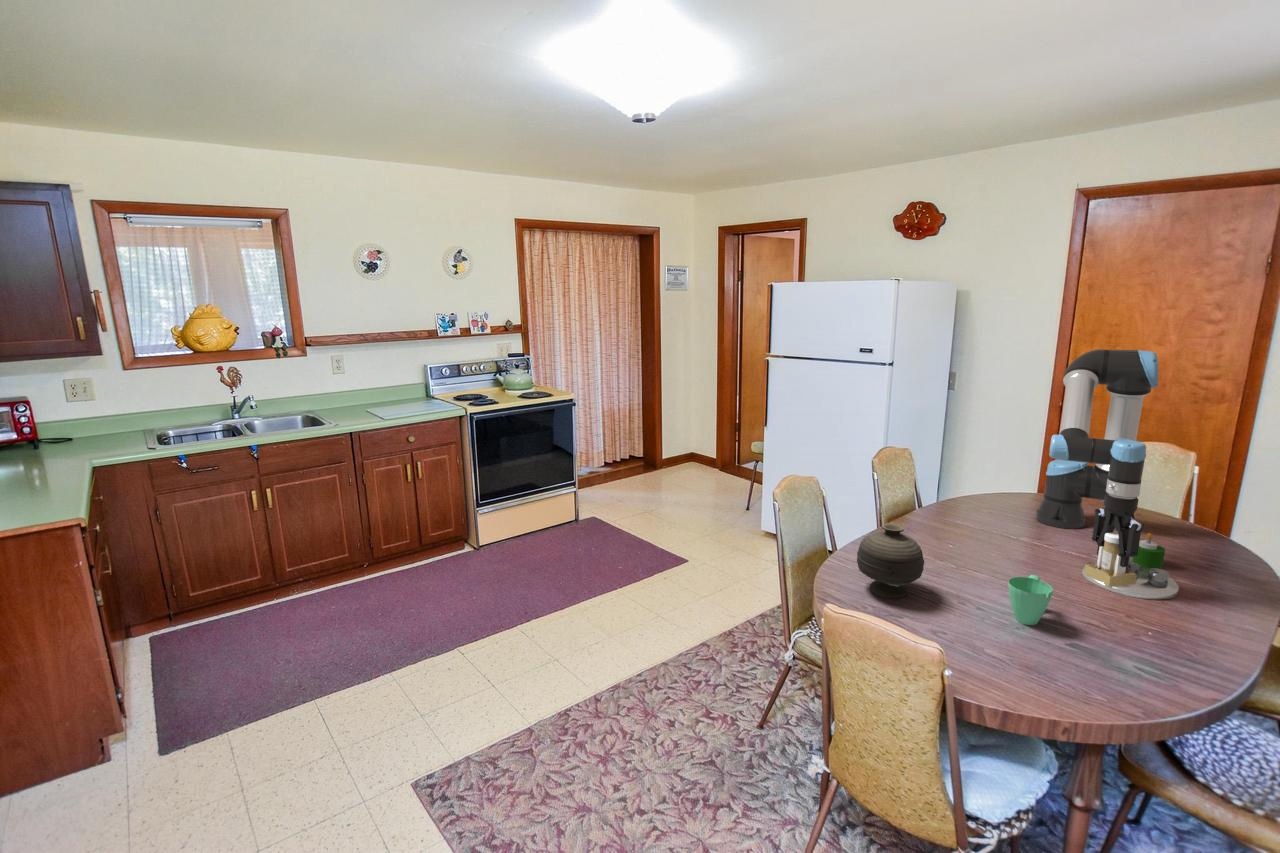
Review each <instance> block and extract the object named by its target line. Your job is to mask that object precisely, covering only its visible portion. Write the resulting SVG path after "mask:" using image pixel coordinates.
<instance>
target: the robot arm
mask: <svg viewBox="0 0 1280 853" xmlns="http://www.w3.org/2000/svg"><path fill="white" fill-rule="evenodd" d="M1158 358H1159V357H1158V355H1157V353H1156V352H1154V351H1150V350H1141V349H1103V348H1099V349H1092V350H1089V351H1086V352H1085V353H1082V354H1081V355H1079V356H1078V357H1076V358H1075V359H1074V360H1072V362H1071V363H1069V365H1068V366H1067V368H1066V369H1065V371H1064V375H1063V380H1062V381H1063V382H1062V384H1063V386H1064V387H1065V391H1064V399H1063V405H1062V413H1061V420H1060V427H1059V428H1060V429H1059V433H1058V434H1053V435H1051V438H1050V445H1049V454H1048V455H1049V457H1050V458H1051V459H1053V460H1051V461H1050V462H1049V463H1048V464H1047V470H1046V472H1045V476H1046V478H1045V483H1044V490H1043V498H1042V501H1041V502H1040V504H1039V507H1038V509H1036V512H1035V516H1034V517H1035V520H1037V522H1039V523H1041V524H1044V525H1047V526H1050V527H1054V528H1055V527H1056V528H1059V529H1070V530H1071V529H1074V530H1075V529H1082V528H1084V527H1085V525H1086V517H1085V513H1084V509H1083V504H1082V503H1083V498H1085V499H1091V500H1092V499H1093V500H1099V501H1103V506H1104V508H1103V507H1102V508H1095V509H1094V514H1095V518H1094V523H1093V530H1092V537H1091V540H1092V541H1093V542H1096V544H1097V550H1096V556H1097V560H1096V561H1097V568H1101V563H1102V555H1103V549H1104V543H1105V541H1104V537H1105V534H1106V533H1114V531H1115V530H1116V533H1118V536H1119V548H1120V554H1118V555H1117V558H1116V564H1115V571H1114V574H1125V570H1126V567H1127V566H1128V563H1129V557H1132V556H1137V555H1138V549H1139V542H1140V541H1141V534H1142V531H1143V529H1144V527H1145V526H1144V523H1142V522H1141V523H1140V522H1139V521H1136V520H1135V518H1136V517H1135V513H1136V512H1137V510H1138V507H1139V506H1138V504H1139V498H1138V497H1140V494H1141V486H1142V476H1143V472H1144V467H1145V466H1144V465H1145V460H1146V458H1147V445H1146V444H1145V443H1144V442H1141V441H1139V440H1137V438H1138V433H1139V428H1140V427H1139V426H1140V420H1141V414H1142V410H1143V409H1142V408H1143V404H1144V403H1143V402H1144V399H1145V398H1144V397H1147V396H1148V395H1150V394H1151V390H1152V389H1155V388H1158V386H1159V359H1158ZM1098 385H1101V386H1102V385H1103V386H1106V389H1105V390H1106V391H1107V392H1108V393H1109V394H1110V400H1109V406H1108V411H1107V412H1108V414H1107V418H1106V426H1105V433H1104V438H1096V437H1095V438H1094V437H1090V429H1091V422H1092V411H1093V410H1092V409H1093V401H1094V391H1095V389H1096V388H1097V386H1098ZM1088 464H1094V465H1088ZM1115 528H1116V529H1115Z"/></svg>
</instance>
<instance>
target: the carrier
mask: <svg viewBox="0 0 1280 853" xmlns="http://www.w3.org/2000/svg"><path fill="white" fill-rule="evenodd" d="M1097 561H1098V560H1094V561H1090V562H1086V563H1085V564H1084V565H1083V567H1082V570H1081V571H1082V576H1083V577H1084V579H1086V581H1088V582H1090V583H1091V584H1092V585H1095V587H1096V586H1097V587H1099V588H1101V589H1103V590H1106V591H1109V592H1112V593H1114V594H1118V595H1121V596H1126V597H1129V598H1130V597H1131V598H1136V599H1143V600H1151V601H1152V600H1153V601H1156V600H1157V601H1158V600H1159V601H1160V600H1161V601H1162V600H1164V599H1165V600H1169V599H1173V598H1175V597H1176V596H1178V594H1179V584H1178V583H1177V582H1176V581H1175V580H1174V579H1172V578H1171V577H1170V572H1169V571H1167V570H1166V569H1165V570H1164V569H1163V568H1160V569H1157V568H1151V569H1149V568H1145V567H1141V566H1140V565H1139V564H1137V563H1134V562H1132V561H1133V556H1132V557H1129V563H1128V566H1127V567H1126V570H1125V574H1114V575H1110V574H1108V573H1106V572H1104V571H1102V570H1101V568H1097Z"/></svg>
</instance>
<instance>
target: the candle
mask: <svg viewBox="0 0 1280 853" xmlns="http://www.w3.org/2000/svg"><path fill="white" fill-rule="evenodd" d="M1152 540H1153V534H1152V533H1151V532H1149V533H1147V534H1146V539H1144V540H1143V539H1142V540H1141V539H1140V542H1139V549H1138V555H1137V556H1133V561H1132V562H1134V563H1137V564H1139V565H1140V566H1141V567H1145V568H1148V569H1151V568H1157V569H1163V566H1164V560H1165V555H1166V554H1165V553H1166V549H1165V548H1164V547H1163V546H1161V545H1158V543H1157V542H1155V541H1152Z"/></svg>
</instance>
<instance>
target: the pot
mask: <svg viewBox="0 0 1280 853" xmlns="http://www.w3.org/2000/svg"><path fill="white" fill-rule="evenodd" d="M881 529H883V530H878V531H874V532H870V534H867V535H866V536H865V537H864V538H863V539H862V540H860V544H859V546H858V550H857V553H856V556H857V557H856V563H857V568H858V570H859V571H860V572H861V573H862V574H863V575H865V576H866V577H868V578H869V579H871V580H873V581H872V582H871V583H870V585H869V590H870V591H871V593H872V594H873V595H876V596H878V597H882V598H884V599H885V598H886V599H891V600H892V599H896V600H897V599H902V598H904V597H907V595H908V589H907V588H906V586H904V585H907V584H911V583H913V582H916V580H919V579H920V578H921V577H922V574H923V572H924V565H925V559H924V554H923V550H922V548H921V546H920V545H919V544H918V542H917V541H916V540H914V539H913V537H911V536H909V535H907V534H905V533H902V532H904V531H905V527H903V526H902V525H898V524H896V523H889V522H888V523H885V524H881Z"/></svg>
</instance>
